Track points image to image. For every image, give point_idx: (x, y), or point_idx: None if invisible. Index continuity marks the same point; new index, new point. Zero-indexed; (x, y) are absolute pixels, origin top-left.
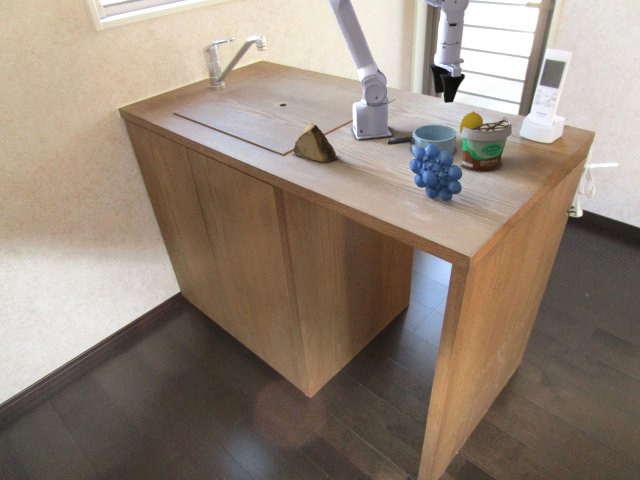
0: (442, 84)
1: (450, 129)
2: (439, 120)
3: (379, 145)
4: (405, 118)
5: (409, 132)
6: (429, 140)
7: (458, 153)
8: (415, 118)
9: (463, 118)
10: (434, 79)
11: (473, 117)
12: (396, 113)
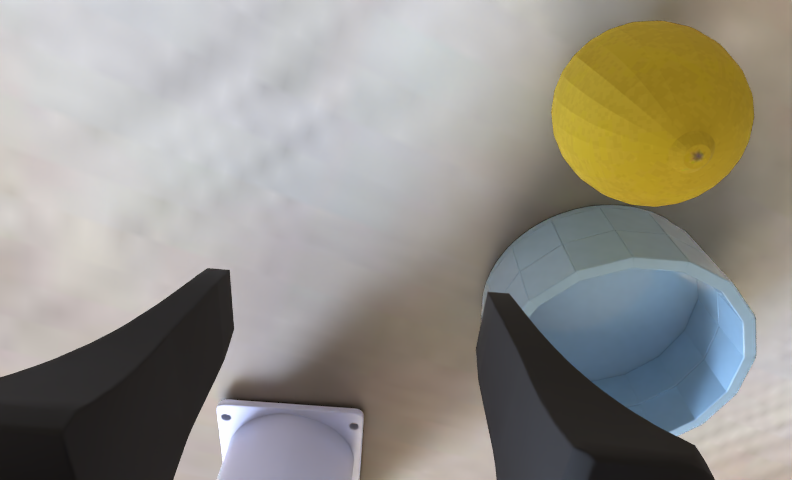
0: (199, 331)
1: (618, 268)
2: (194, 113)
3: (438, 464)
4: (127, 284)
5: (337, 327)
6: (700, 418)
7: (703, 209)
8: (134, 236)
9: (632, 203)
10: (183, 447)
11: (730, 167)
12: (38, 302)
